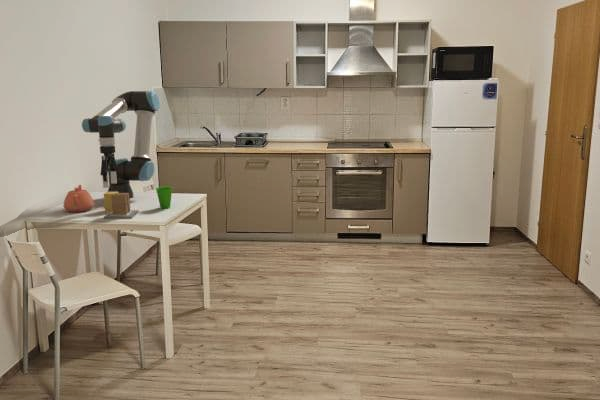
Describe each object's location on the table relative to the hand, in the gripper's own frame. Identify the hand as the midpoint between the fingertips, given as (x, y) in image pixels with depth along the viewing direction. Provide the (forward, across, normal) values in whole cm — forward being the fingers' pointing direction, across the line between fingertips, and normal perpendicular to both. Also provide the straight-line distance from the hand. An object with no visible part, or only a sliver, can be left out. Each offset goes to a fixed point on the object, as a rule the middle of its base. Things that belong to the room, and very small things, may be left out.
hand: (110, 185), depth 291 cm
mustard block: (+14, -1, 0) cm, 14 cm away
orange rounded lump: (+14, -5, -19) cm, 24 cm away
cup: (+14, -7, +27) cm, 31 cm away
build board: (+14, +10, +8) cm, 19 cm away
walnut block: (+13, +10, +8) cm, 18 cm away
